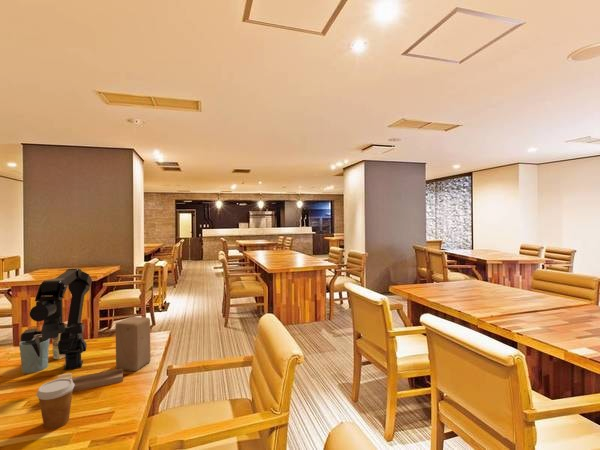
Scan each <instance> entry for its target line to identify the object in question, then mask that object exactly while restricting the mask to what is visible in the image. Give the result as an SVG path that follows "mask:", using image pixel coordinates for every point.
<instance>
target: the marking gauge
mask: <svg viewBox="0 0 600 450" xmlns="http://www.w3.org/2000/svg"><path fill="white" fill-rule="evenodd" d="M72 375H73V373H72V372H70V373H63V374H58V375H57V378H56V379H55V380H57V379H64V378H67V379H71V380H72V378H73V376H72Z"/></svg>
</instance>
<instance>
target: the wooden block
mask: <svg viewBox="0 0 600 450" xmlns="http://www.w3.org/2000/svg"><path fill="white" fill-rule="evenodd" d="M151 359H152V357H151V319H150V317H142V316H130V317H128V318H124V319H123V320H120V321H117V322H116V323H115V369H121V368H123V371H130V372H137V371H139V370H140V369H142V368H143V367H145V366H146V365H148V364H149V363H150V362H151Z"/></svg>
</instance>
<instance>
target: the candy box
mask: <svg viewBox="0 0 600 450" xmlns="http://www.w3.org/2000/svg"><path fill="white" fill-rule="evenodd" d="M63 323H65V327H67V323H68V320H65V321H63ZM60 335H61V333H59V335H58V337H57V338H51V339H52V341H51V342H52V359H53V360H62V359H64V358H65V354H61V355H60V354H59V349H58V342H59V341H60Z"/></svg>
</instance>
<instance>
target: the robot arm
mask: <svg viewBox="0 0 600 450" xmlns="http://www.w3.org/2000/svg"><path fill="white" fill-rule="evenodd" d="M92 280H93V279H92V277H91V276H90V274H89V273H87V272H85V271H83V270H82V269H81V268H68V269H66V270H65V271H64V272H63V273H62V274H60V275H58V276H56V277H55V278H51V279H47V280H43V281H42V282H41V283H40V285H39V287H38V289H37V293H36V295H35V298H34V299H35V300H34V302H35V305H34V306H33V307H32V308H31V309H30V312H29V318H30V319H31V320H33V321H34V322H42V321H43V323H42V328H41V330H39V329H38V328H37V327H36V328H29V329H25V330H24V331H23V332H22V333H21V334H20V342H23V341H26V343H30V344H31V345H32V346H33V348H34V350H35V351H36V353H37V355H38V357H40V343H39V337H42V339H48V338H50V339H52V338H57V337H58V335H59V333H61V335H60V341H59V342H58V349H59V354H60V355H61V354H65V357H64V358H65V359H64V363H65V364H64V366H63V371H68V370H72V369H73V370H74V369H78V368H79V369H80V368H82V367H83V364H84V360H82V353H84V352H86V351H87V347H88V346H87V342H86V341H85V339H84V334H83V332H84V329H85V326H84V325H85V324H84V323H83V322H81V321H82V315H83V307H84V301H85V295H86V294H88V292H89V291H90V289H91V286H92V284H93V283H92V282H93V281H92ZM67 288H68V290H69V292H70V294H71V297H70V298H71V299H70V304H69V311H68V318H67V321H68V323H67V327H65V323H63V322H64V318H63V316H64V314H63V313H64V312H63V311H64V310H63V309H64V308H63V299H64V298H65V297H64V295H65V293H66V291H67Z"/></svg>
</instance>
